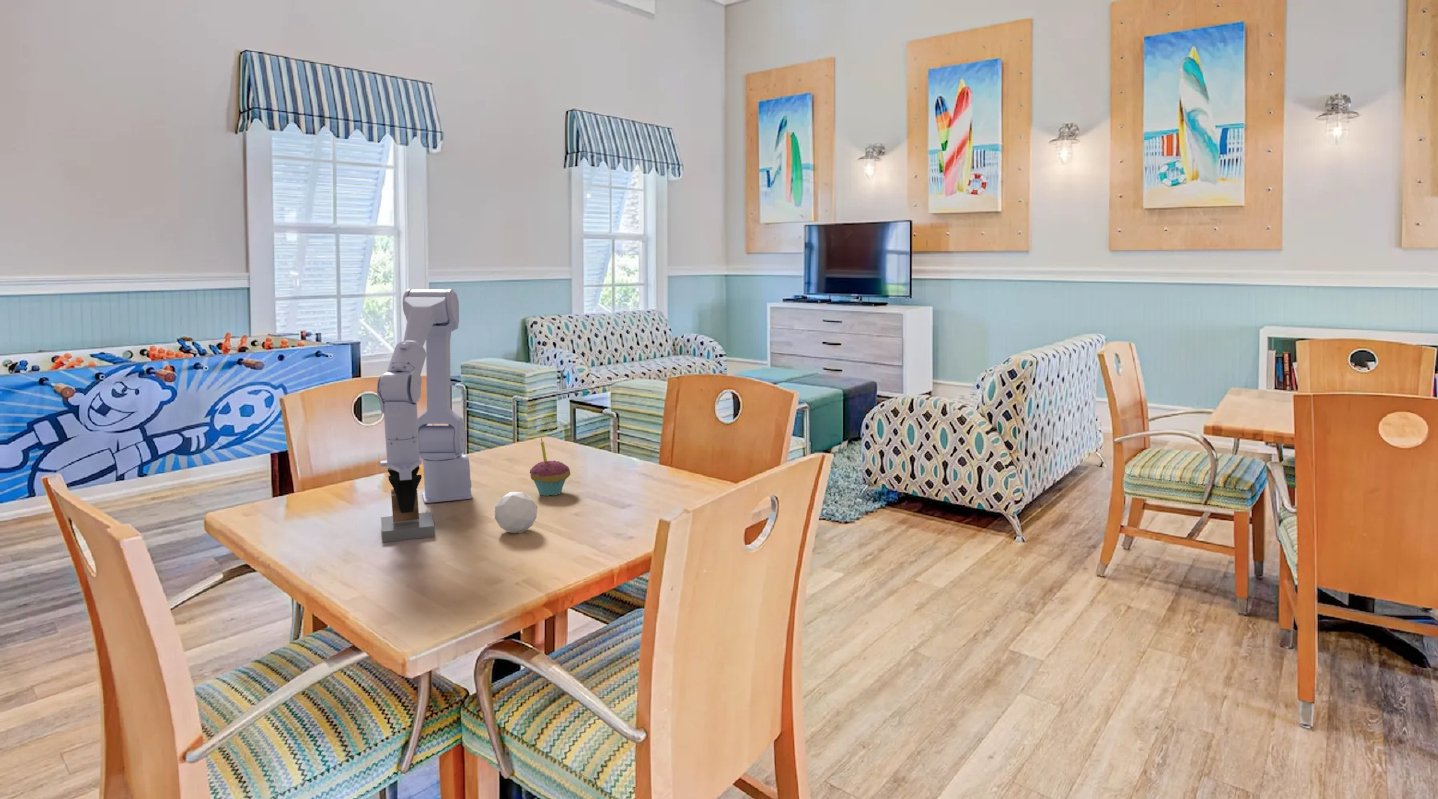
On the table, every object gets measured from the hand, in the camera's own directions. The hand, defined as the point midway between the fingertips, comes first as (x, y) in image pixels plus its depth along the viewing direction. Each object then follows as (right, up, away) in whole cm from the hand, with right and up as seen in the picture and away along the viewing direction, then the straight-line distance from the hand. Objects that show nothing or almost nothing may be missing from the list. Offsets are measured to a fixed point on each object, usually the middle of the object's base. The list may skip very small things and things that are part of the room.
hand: (406, 508), depth 160 cm
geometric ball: (+20, -5, +2) cm, 21 cm away
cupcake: (+22, 0, +27) cm, 34 cm away
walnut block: (0, -2, 0) cm, 2 cm away
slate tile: (0, -5, +1) cm, 5 cm away
